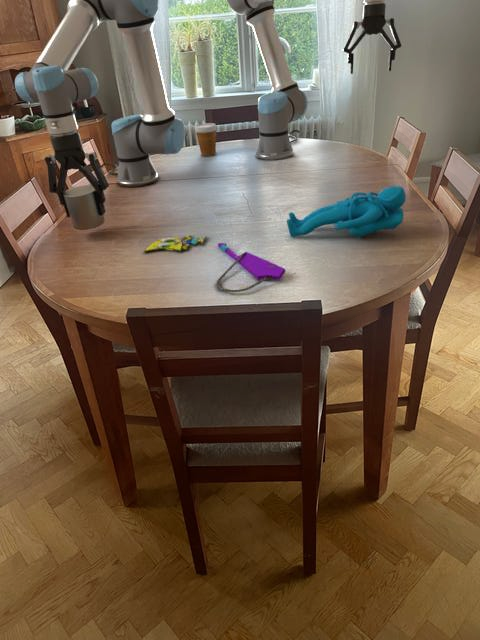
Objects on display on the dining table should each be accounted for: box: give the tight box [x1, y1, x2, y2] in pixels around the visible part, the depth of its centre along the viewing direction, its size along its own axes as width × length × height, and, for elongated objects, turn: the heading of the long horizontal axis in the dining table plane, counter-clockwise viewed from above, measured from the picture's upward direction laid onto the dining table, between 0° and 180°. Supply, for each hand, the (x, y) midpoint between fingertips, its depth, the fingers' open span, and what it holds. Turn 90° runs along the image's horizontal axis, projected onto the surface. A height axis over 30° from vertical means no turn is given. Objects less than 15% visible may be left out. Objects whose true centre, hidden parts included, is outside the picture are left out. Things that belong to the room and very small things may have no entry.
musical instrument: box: [216, 242, 286, 293], centre depth 114 cm, size 24×2×20 cm
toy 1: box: [144, 234, 207, 254], centre depth 130 cm, size 10×1×15 cm
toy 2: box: [286, 185, 407, 238], centre depth 125 cm, size 17×11×30 cm
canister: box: [63, 184, 106, 231], centre depth 137 cm, size 9×9×10 cm
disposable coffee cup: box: [194, 122, 218, 157], centre depth 207 cm, size 10×10×12 cm
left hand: (86, 214), depth 138 cm, fingers closed on canister, 9 cm apart
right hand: (370, 72), depth 177 cm, fingers open, 13 cm apart
